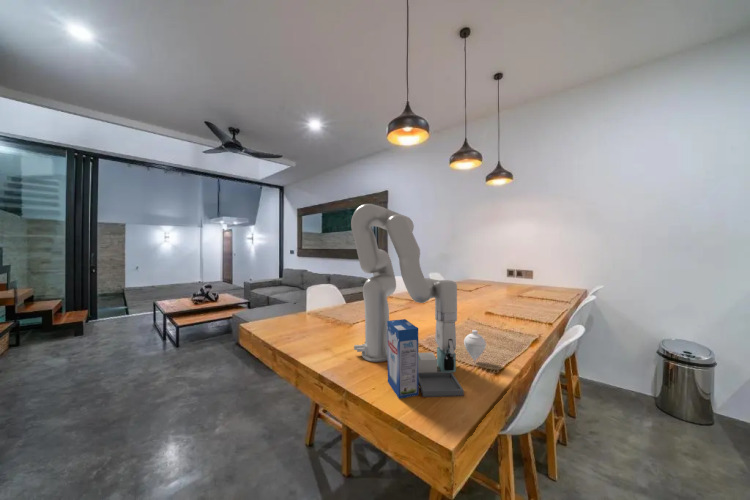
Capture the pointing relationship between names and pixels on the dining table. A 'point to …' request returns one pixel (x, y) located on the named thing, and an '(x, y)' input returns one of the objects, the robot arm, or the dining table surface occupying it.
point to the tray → (439, 385)
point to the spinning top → (474, 344)
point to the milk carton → (403, 358)
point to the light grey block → (427, 363)
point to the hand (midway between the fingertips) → (446, 365)
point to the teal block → (441, 360)
